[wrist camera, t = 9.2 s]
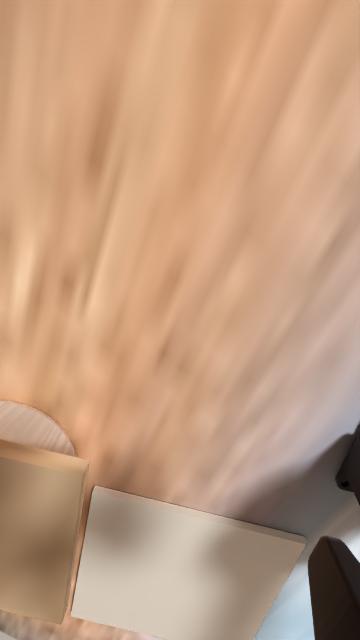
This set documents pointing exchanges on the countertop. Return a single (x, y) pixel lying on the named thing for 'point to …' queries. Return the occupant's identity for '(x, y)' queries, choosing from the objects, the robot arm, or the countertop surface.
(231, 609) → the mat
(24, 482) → the board
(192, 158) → the countertop surface
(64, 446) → the ramekin
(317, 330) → the countertop surface
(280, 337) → the countertop surface
